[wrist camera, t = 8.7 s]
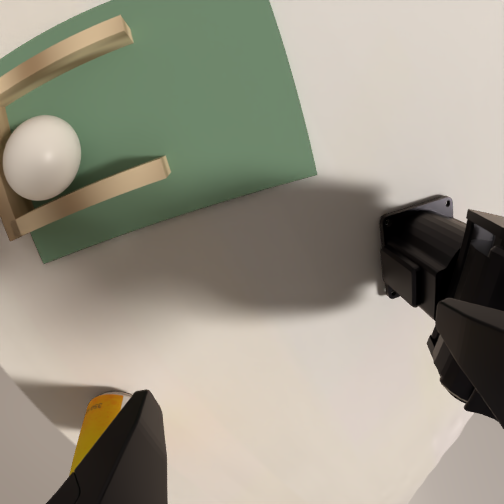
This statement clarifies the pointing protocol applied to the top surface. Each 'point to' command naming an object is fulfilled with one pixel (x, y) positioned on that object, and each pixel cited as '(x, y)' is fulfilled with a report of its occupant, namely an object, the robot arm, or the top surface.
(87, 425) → the orange cylindrical container
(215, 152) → the putting mat
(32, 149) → the golf ball
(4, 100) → the u-shaped wooden rail
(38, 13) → the top surface
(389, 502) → the top surface
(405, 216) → the robot arm
